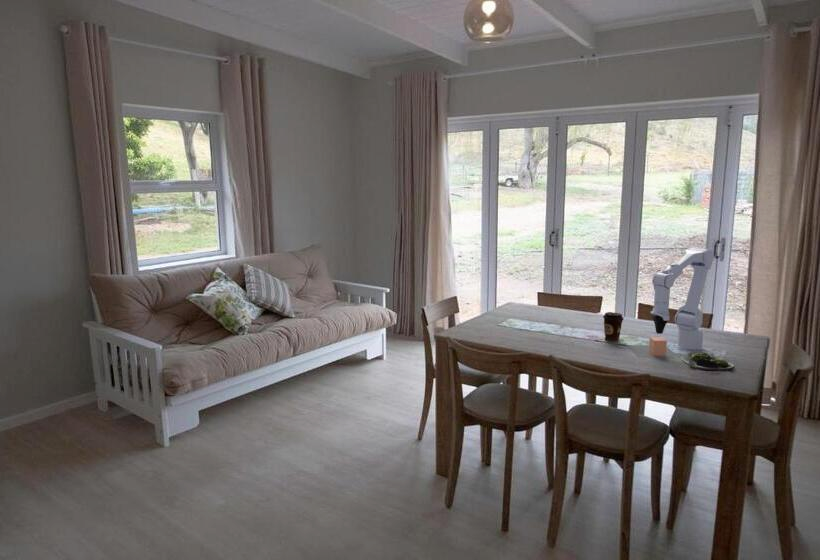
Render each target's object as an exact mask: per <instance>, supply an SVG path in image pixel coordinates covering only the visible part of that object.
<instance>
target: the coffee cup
mask: <svg viewBox="0 0 820 560" xmlns="http://www.w3.org/2000/svg"><path fill="white" fill-rule="evenodd" d="M602 317H603V329H604V330H603V332H604V341H606V342H610V343H611V342H612V343H617V342H619V341H620V335H621V330H622V324H623V321H624V317H623V315H622V313H618V312H612V311H607V312H605V313H604V315H603V316H602Z"/></svg>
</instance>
